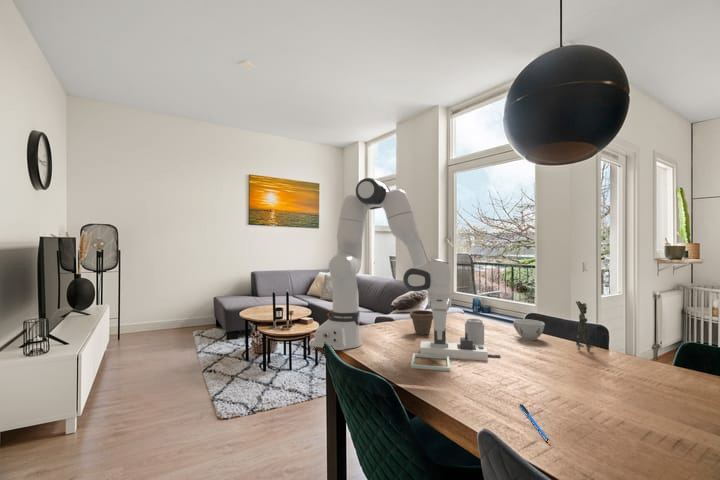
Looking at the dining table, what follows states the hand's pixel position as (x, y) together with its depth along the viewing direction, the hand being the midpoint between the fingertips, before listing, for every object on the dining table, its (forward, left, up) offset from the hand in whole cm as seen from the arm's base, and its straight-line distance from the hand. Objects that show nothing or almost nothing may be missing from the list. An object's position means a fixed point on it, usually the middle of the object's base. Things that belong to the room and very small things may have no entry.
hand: (439, 337), depth 136 cm
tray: (-3, -12, -7) cm, 14 cm away
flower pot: (-8, +33, -7) cm, 35 cm away
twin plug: (+10, 0, -6) cm, 12 cm away
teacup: (+39, +35, -7) cm, 53 cm away
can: (+14, +12, -7) cm, 20 cm away
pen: (+22, -47, -8) cm, 52 cm away
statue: (+57, +19, -7) cm, 60 cm away
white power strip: (+7, 0, -7) cm, 10 cm away
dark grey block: (0, 0, -2) cm, 2 cm away
